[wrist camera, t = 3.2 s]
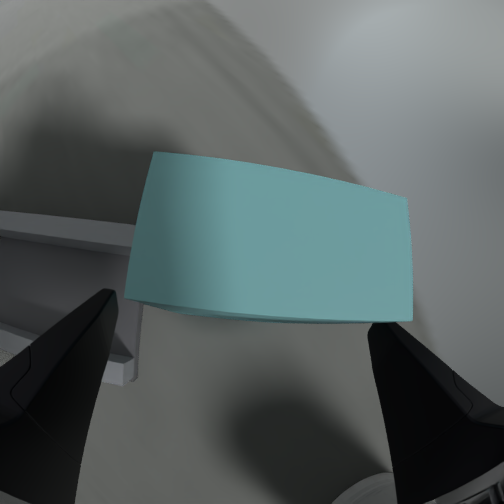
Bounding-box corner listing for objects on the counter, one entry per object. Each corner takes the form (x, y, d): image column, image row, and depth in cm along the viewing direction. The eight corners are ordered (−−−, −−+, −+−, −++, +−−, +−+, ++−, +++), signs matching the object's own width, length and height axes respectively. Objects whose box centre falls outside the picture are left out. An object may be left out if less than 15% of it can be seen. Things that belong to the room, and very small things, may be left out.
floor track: (152, 239, 18) (142, 220, 14) (137, 378, 16) (122, 391, 12) (14, 222, 16) (-11, 205, 13) (-3, 338, 14) (-33, 338, 10)
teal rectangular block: (276, 276, 19) (406, 198, 6) (273, 322, 18) (412, 320, 6) (184, 265, 18) (153, 151, 5) (178, 313, 17) (123, 298, 5)
